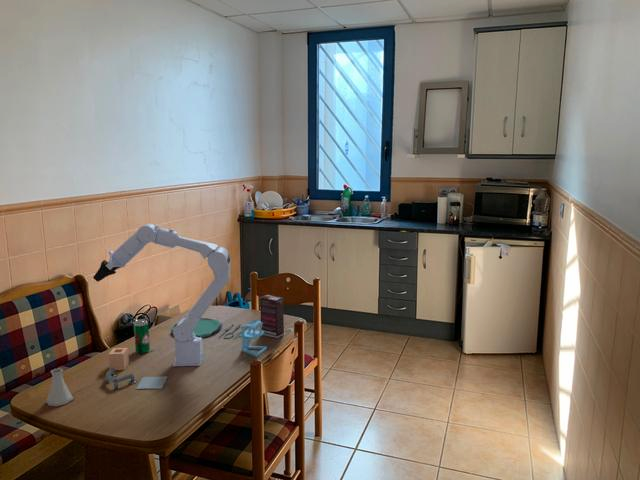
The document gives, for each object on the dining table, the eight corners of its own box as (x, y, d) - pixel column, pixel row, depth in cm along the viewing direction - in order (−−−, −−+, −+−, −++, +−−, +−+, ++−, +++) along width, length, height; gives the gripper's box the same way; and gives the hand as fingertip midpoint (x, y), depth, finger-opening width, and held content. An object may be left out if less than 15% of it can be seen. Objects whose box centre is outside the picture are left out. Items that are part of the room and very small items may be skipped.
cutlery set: (186, 320, 225) (186, 315, 225) (250, 327, 219) (250, 321, 218) (163, 337, 206) (163, 332, 206) (233, 345, 200) (233, 340, 199)
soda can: (145, 354, 189) (143, 324, 186) (133, 353, 190) (130, 323, 187) (152, 349, 194) (150, 319, 191) (140, 348, 195) (138, 318, 192)
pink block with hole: (129, 363, 181) (127, 347, 180) (124, 369, 176) (123, 353, 175) (114, 364, 181) (113, 348, 180) (109, 370, 176) (108, 354, 175)
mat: (167, 377, 171) (167, 376, 171) (161, 388, 163) (161, 387, 163) (143, 377, 170) (143, 377, 170) (136, 389, 163) (136, 388, 163)
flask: (55, 409, 151) (52, 378, 149) (41, 403, 154) (38, 372, 152) (78, 399, 157) (75, 368, 155) (64, 393, 160) (61, 363, 158)
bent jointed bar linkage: (141, 373, 173) (141, 365, 173) (132, 388, 163) (131, 380, 162) (110, 374, 173) (109, 366, 172) (98, 389, 162) (98, 381, 162)
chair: (248, 345, 197) (247, 316, 195) (267, 349, 194) (266, 319, 192) (237, 353, 190) (236, 322, 188) (256, 356, 187) (255, 325, 185)
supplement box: (284, 334, 208) (284, 297, 205) (277, 338, 204) (276, 300, 201) (267, 330, 213) (267, 294, 210) (260, 334, 209) (259, 297, 206)
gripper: (126, 237, 180) (98, 263, 181) (112, 246, 166) (82, 273, 167) (140, 252, 182) (113, 277, 183) (128, 262, 167) (98, 288, 168)
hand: (99, 276), depth 175 cm, fingers open, 7 cm apart
